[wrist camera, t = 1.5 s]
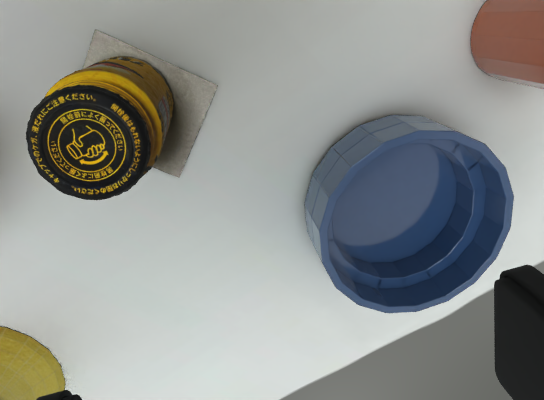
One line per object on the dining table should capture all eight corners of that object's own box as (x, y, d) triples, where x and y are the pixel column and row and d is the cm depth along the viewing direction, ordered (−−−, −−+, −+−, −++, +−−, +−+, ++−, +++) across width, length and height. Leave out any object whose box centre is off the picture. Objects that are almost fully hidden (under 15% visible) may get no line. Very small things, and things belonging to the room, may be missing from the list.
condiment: (95, 29, 28) (27, 37, 17) (218, 85, 31) (226, 123, 20) (62, 131, 30) (-17, 196, 19) (179, 176, 33) (168, 256, 22)
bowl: (351, 84, 32) (378, 96, 27) (503, 151, 36) (551, 173, 31) (275, 247, 36) (286, 284, 31) (418, 292, 40) (448, 331, 35)
